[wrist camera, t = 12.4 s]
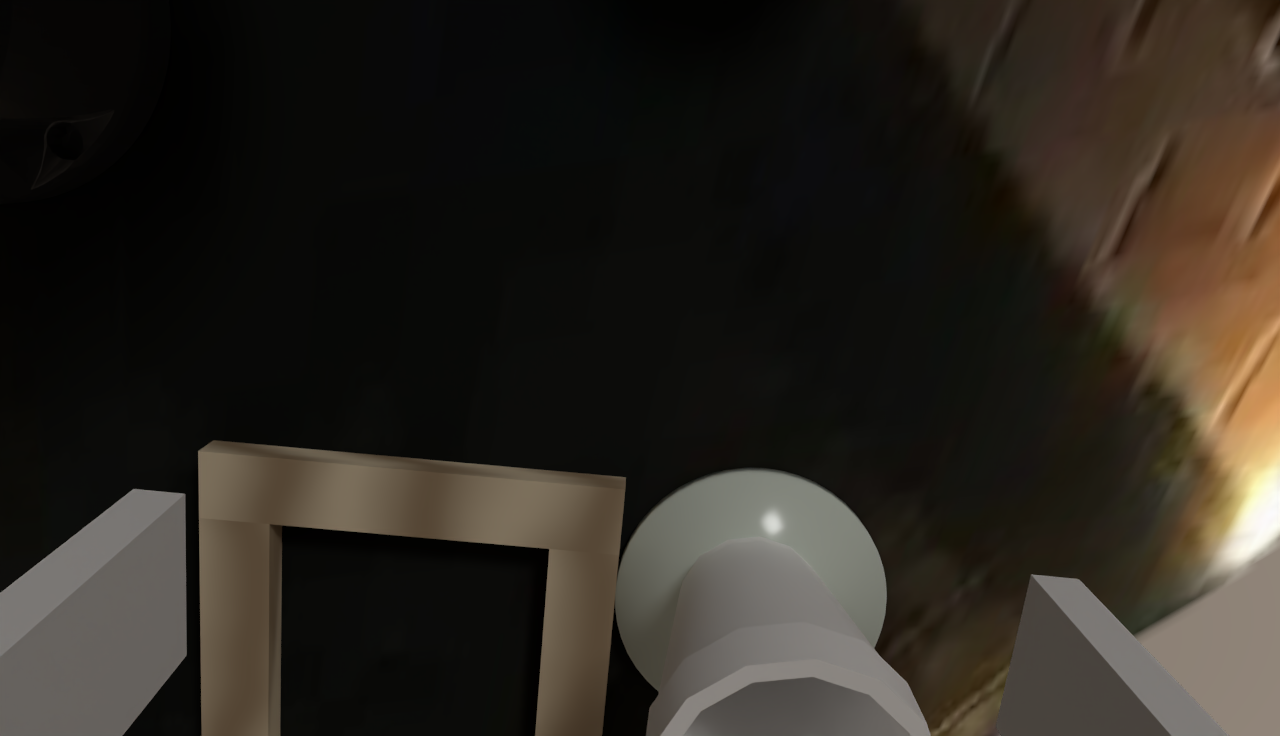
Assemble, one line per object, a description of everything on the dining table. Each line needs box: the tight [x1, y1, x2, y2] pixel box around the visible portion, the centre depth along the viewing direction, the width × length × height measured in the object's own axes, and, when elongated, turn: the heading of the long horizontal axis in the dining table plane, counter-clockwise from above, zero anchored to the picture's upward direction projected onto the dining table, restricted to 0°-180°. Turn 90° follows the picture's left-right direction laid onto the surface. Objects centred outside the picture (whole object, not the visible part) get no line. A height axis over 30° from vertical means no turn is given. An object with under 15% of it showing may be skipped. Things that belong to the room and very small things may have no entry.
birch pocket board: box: [198, 441, 626, 736], centre depth 44 cm, size 18×18×2 cm
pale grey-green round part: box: [615, 468, 887, 692], centre depth 44 cm, size 12×12×1 cm
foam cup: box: [646, 537, 931, 736], centre depth 37 cm, size 10×9×13 cm
